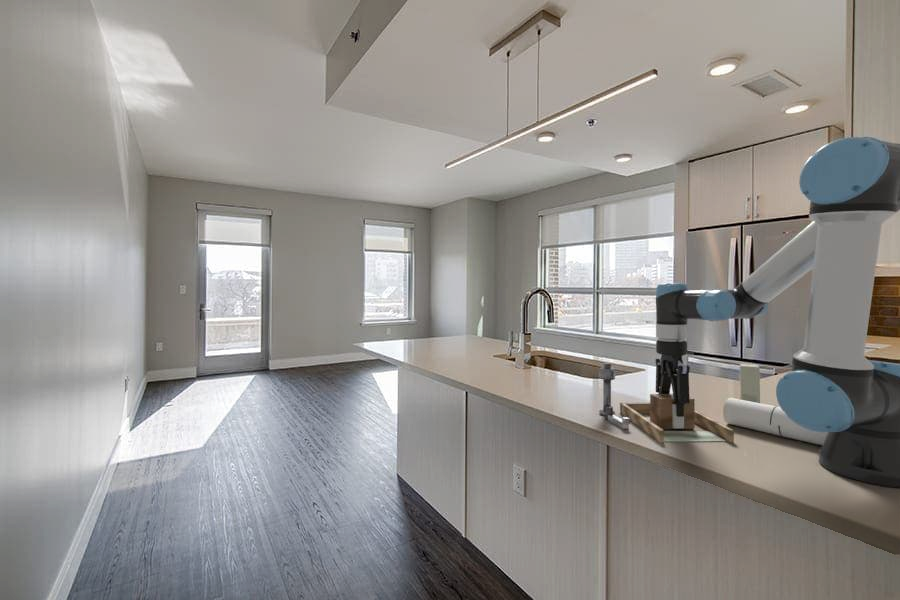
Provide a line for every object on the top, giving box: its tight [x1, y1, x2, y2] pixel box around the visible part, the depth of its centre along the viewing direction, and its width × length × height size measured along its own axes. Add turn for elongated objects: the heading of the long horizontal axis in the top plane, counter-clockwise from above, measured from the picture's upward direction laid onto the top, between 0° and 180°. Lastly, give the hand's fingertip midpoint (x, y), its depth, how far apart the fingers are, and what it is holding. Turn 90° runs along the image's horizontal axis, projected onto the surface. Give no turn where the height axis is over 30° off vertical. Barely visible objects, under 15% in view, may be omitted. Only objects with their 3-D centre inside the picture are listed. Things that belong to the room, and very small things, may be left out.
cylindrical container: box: [722, 397, 828, 447], centre depth 108 cm, size 7×7×25 cm
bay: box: [619, 402, 735, 444], centre depth 116 cm, size 25×18×3 cm
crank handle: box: [605, 405, 631, 430], centre depth 118 cm, size 10×2×4 cm, turn 9°
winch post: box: [598, 362, 616, 417], centre depth 127 cm, size 4×4×15 cm
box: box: [739, 363, 761, 403], centre depth 136 cm, size 5×4×13 cm
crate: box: [649, 393, 696, 430], centre depth 116 cm, size 6×9×8 cm, turn 90°
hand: (671, 423), depth 116 cm, fingers closed on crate, 6 cm apart
